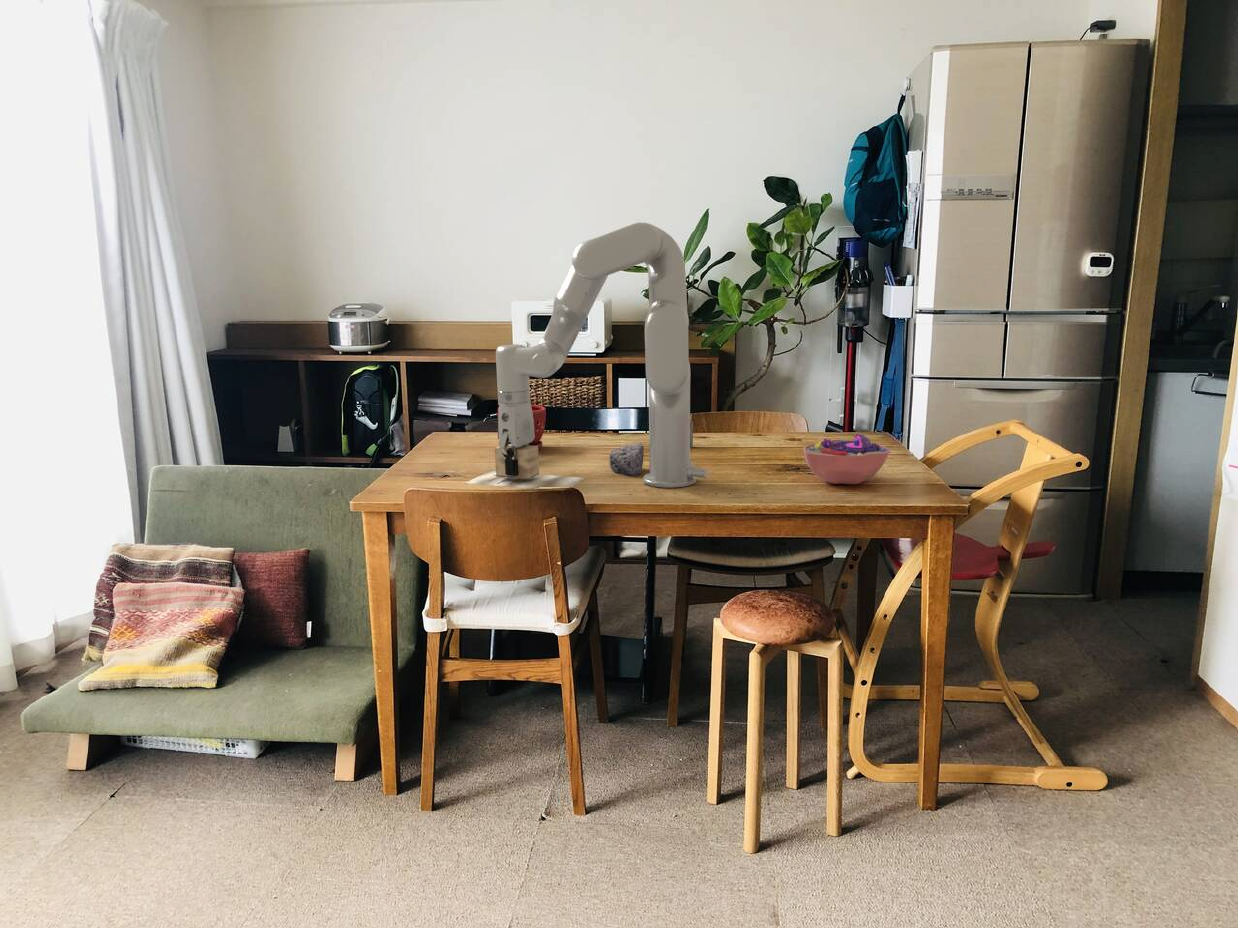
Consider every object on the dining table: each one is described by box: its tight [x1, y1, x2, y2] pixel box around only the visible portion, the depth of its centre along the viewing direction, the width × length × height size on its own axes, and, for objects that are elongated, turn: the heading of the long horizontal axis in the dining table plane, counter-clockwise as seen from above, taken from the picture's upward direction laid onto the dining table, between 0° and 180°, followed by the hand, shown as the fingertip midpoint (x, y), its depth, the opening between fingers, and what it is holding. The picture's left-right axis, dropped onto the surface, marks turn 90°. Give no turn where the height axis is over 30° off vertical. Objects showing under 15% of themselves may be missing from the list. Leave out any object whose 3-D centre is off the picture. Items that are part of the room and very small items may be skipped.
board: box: [464, 470, 587, 489], centre depth 226 cm, size 26×13×1 cm, turn 69°
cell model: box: [802, 433, 892, 485], centre depth 219 cm, size 17×20×11 cm
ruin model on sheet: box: [690, 413, 694, 450], centre depth 260 cm, size 11×3×10 cm, turn 78°
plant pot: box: [497, 404, 547, 450], centre depth 260 cm, size 13×13×12 cm
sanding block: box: [494, 444, 540, 479], centre depth 226 cm, size 9×5×7 cm, turn 68°
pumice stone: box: [609, 443, 645, 477], centre depth 233 cm, size 10×8×10 cm
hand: (517, 471), depth 227 cm, fingers closed on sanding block, 5 cm apart
